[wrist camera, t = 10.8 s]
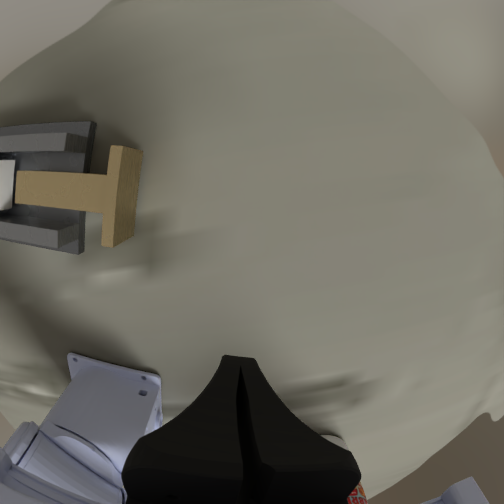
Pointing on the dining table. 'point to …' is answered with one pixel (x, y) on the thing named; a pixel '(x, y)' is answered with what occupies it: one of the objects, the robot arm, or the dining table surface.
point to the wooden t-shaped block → (90, 192)
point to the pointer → (6, 183)
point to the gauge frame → (47, 159)
